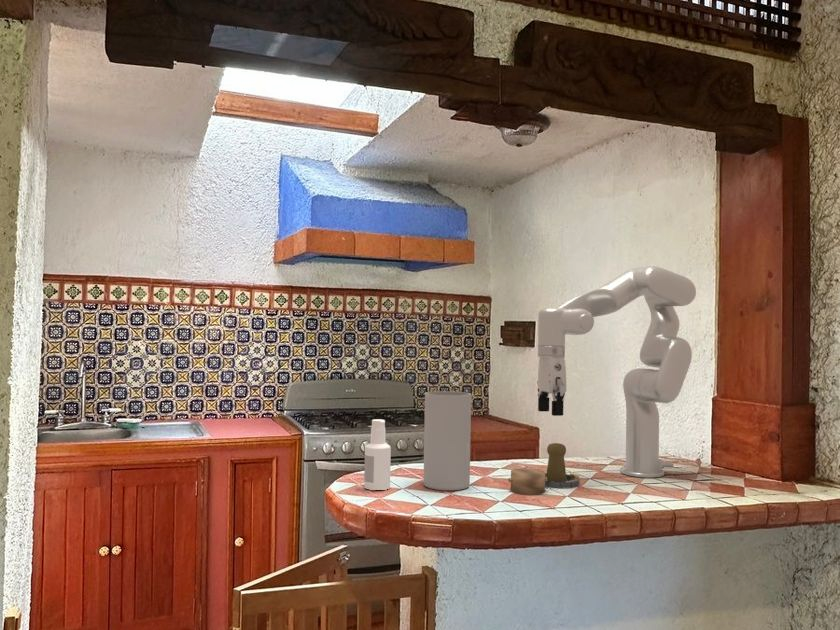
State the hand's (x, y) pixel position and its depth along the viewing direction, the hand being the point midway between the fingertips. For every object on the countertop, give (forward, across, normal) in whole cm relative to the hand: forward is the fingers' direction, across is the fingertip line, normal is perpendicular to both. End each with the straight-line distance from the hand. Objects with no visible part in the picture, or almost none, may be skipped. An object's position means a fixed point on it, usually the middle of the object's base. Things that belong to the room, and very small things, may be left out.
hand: (550, 413), depth 193 cm
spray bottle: (+20, -1, +49) cm, 53 cm away
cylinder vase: (+20, 0, +30) cm, 36 cm away
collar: (+19, -1, -2) cm, 19 cm away
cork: (+20, -1, -2) cm, 20 cm away
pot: (+19, -9, +10) cm, 23 cm away
